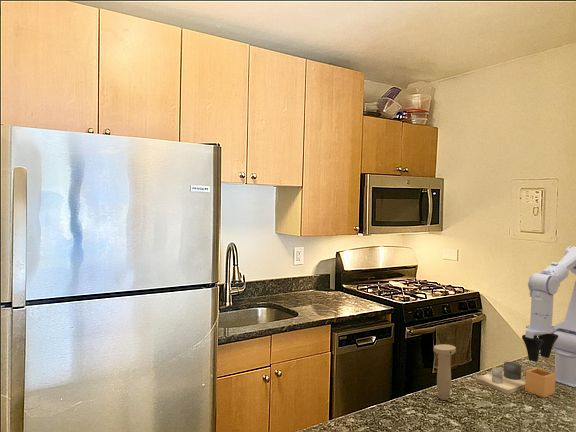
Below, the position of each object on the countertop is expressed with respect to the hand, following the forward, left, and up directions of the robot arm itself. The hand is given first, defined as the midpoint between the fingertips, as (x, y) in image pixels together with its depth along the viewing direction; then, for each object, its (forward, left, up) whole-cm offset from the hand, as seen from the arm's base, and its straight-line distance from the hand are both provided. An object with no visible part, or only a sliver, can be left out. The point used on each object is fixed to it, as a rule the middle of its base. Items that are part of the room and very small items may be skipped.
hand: (539, 358), depth 135 cm
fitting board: (+2, -10, -10) cm, 14 cm away
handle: (+28, -12, -11) cm, 32 cm away
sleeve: (-1, 0, -10) cm, 10 cm away
